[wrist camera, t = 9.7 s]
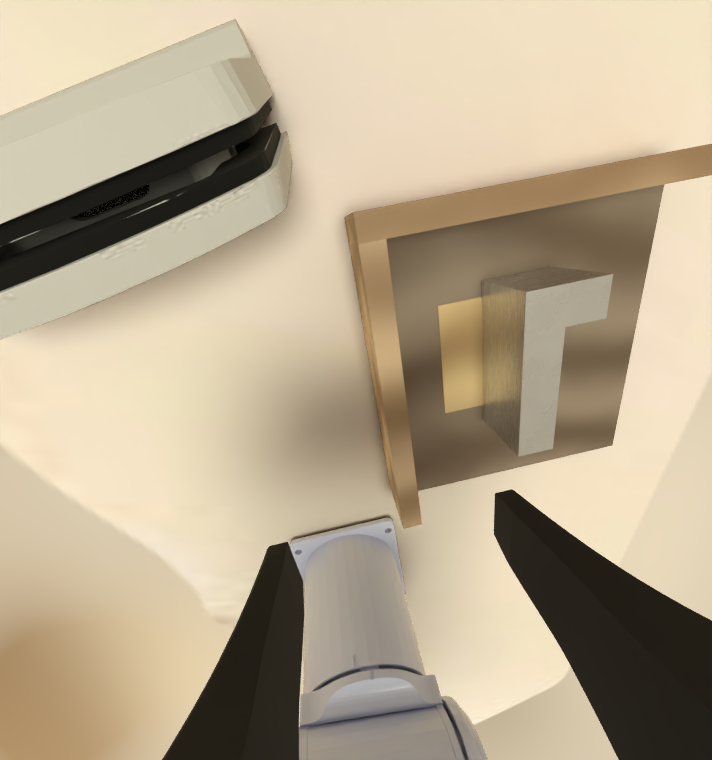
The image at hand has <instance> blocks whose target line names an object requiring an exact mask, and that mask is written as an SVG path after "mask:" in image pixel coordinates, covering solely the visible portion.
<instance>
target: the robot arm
mask: <svg viewBox="0 0 712 760" xmlns="http://www.w3.org/2000/svg"><path fill="white" fill-rule="evenodd" d="M387 528H389V529H387ZM494 535H495V537H496V539H497V541H498V543H499V545H500V548H501V550H502V552H503V554H504V556H505V558H506V560H507V562H508V563H509V565H510V567H511V569H512V570H513V572H514V573H515V575H516V577H517V578H518V580H519V582H520V583H521V585H522V586H523V588H524V590H525V591H526V593H527V594H528V596H529V597H530V599H531V601H532V602H533V604H534V605H535V607H536V609H537V610H538V612H539V613H540V615H541V616H542V618H543V620H544V621H545V623H546V624H547V626H548V628H549V629H550V631H551V632H552V634H553V635H554V637H555V639H556V640H557V642H558V644H559V646H560V647H561V649H562V651H563V652H564V654H565V656H566V658H567V660H568V662H569V663H570V665H571V667H572V669H573V671H574V673H575V675H576V676H577V679H578V680H579V682H580V684H581V686H582V688H583V690H584V692H585V693H586V696H587V698H588V699H589V701H590V703H591V705H592V707H593V709H594V711H595V713H596V715H597V717H598V719H599V721H600V723H601V725H602V727H603V729H604V731H605V732H606V735H607V737H608V739H609V741H610V743H611V744H612V747H613V749H614V751H615V753H616V755H617V757H618V759H619V760H712V621H711V620H709V619H708V618H706V617H703V616H702V615H700V614H698V613H696V612H694V611H692V610H691V609H689V608H687V607H685V606H683V605H681V604H680V603H678V602H676V601H674V600H673V599H671V598H669V597H667V596H666V595H663V594H662V593H660V592H659V591H657V590H655V589H654V588H652V587H650V586H649V585H647V584H645V583H644V582H642V581H640V580H639V579H637V578H635V577H634V576H632V575H631V574H629V573H627V572H626V571H624V570H623V569H621V568H620V567H618V566H617V565H615V564H614V563H612V562H611V561H609V560H608V559H606V558H605V557H603V556H602V555H600V554H599V553H597V552H596V551H594V550H593V549H591V548H590V547H588V546H587V545H585V544H584V543H583V542H581V541H580V540H579V539H577V538H576V537H574V536H573V535H572V534H570V533H569V532H567V531H566V530H565V529H563V528H562V527H561V526H559V525H558V524H557V523H555V522H554V521H553V520H551V519H550V518H549V517H547V516H546V515H545V514H543V513H542V512H541V511H539V510H538V509H537V508H536V507H534V506H533V505H532V504H530V503H529V502H528V501H527V500H525V499H524V498H523V497H522V496H520V495H519V494H518V493H516V492H515V491H514V490H508V491H504V492H499V493H495V514H494ZM303 583H304V586H305V620H304V597H303ZM405 594H406V592H405V586H404V580H403V575H402V569H401V563H400V558H399V552H398V546H397V541H396V535H395V529H394V524H393V521H392V519H391V518H383V519H379V520H374V521H370V522H366V523H362V524H357V525H353V526H349V527H345V528H341V529H336V530H332V531H328V532H324V533H320V534H315V535H311V536H307V537H303V538H298V539H295V540H293V541H291V543H290V546H289V544H288V542H285V543H281V544H277V545H272V546H269V548H268V549H267V551H266V554H265V557H264V560H263V562H262V565H261V568H260V570H259V573H258V575H257V578H256V580H255V583H254V585H253V588H252V590H251V593H250V595H249V597H248V600H247V602H246V604H245V606H244V609H243V611H242V613H241V615H240V618H239V620H238V622H237V624H236V627H235V629H234V631H233V633H232V635H231V637H230V639H229V641H228V643H227V645H226V647H225V649H224V651H223V653H222V655H221V657H220V659H219V661H218V663H217V665H216V667H215V669H214V671H213V673H212V675H211V677H210V679H209V680H208V682H207V684H206V686H205V688H204V690H203V691H202V693H201V695H200V697H199V699H198V700H197V702H196V704H195V706H194V708H193V709H192V711H191V713H190V714H189V716H188V718H187V720H186V721H185V723H184V725H183V726H182V728H181V730H180V731H179V733H178V735H177V736H176V738H175V740H174V741H173V743H172V745H171V746H170V748H169V750H168V751H167V753H166V754H165V756H164V758H163V759H162V760H487V757H486V754H485V751H484V749H483V746H482V744H481V741H480V739H479V736H478V734H477V732H476V730H475V728H474V726H473V724H472V722H471V720H470V719H469V717H468V716H467V714H466V713H465V712H464V711H463V710H462V709H461V708H460V707H459V705H458V704H457V702H456V701H455V700H454V699H453V698H452V697H449V696H442V697H441V695H440V691H439V688H438V684H437V681H436V677H435V675H426V674H425V671H424V667H423V663H422V659H421V655H420V652H419V648H418V644H417V640H416V636H415V633H414V629H413V625H412V621H411V618H410V614H409V610H408V606H407V602H406V599H405ZM303 627H304V690H303V691H304V693H303V694H302V695H301V698H300V700H301V701H300V727H299V696H300V678H301V662H302V645H303Z"/></svg>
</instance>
